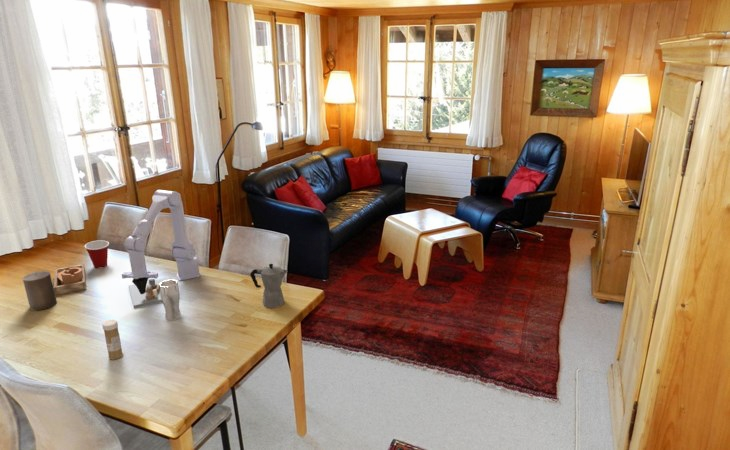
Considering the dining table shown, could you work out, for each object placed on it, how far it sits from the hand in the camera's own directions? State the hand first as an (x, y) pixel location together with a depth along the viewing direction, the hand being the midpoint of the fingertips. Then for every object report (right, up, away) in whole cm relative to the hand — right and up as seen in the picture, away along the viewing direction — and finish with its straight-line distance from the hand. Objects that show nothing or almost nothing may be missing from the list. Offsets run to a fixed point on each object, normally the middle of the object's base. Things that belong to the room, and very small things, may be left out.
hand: (143, 293), depth 208 cm
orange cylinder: (-42, +3, +18) cm, 46 cm away
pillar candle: (-41, -5, -3) cm, 41 cm away
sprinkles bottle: (+8, -17, -39) cm, 43 cm away
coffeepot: (+55, -4, -1) cm, 55 cm away
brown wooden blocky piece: (+2, 0, +4) cm, 5 cm away
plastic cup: (-38, +8, +36) cm, 53 cm away
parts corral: (-42, +3, +18) cm, 46 cm away
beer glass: (+18, -8, -13) cm, 23 cm away
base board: (+1, -1, +8) cm, 8 cm away
